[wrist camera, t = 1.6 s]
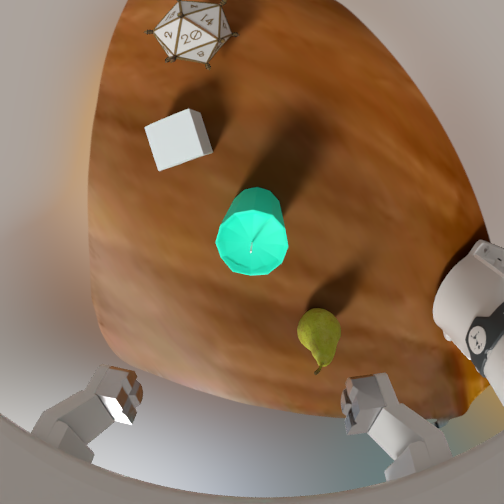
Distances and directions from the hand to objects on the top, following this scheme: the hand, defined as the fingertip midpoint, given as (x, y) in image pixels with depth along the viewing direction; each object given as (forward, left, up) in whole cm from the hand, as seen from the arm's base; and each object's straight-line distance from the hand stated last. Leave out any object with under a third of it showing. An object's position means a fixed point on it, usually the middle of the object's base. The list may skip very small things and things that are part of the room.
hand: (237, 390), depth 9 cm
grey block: (+8, -9, -25) cm, 28 cm away
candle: (0, 0, -25) cm, 25 cm away
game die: (+6, -21, -25) cm, 33 cm away
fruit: (-8, +15, -25) cm, 30 cm away
